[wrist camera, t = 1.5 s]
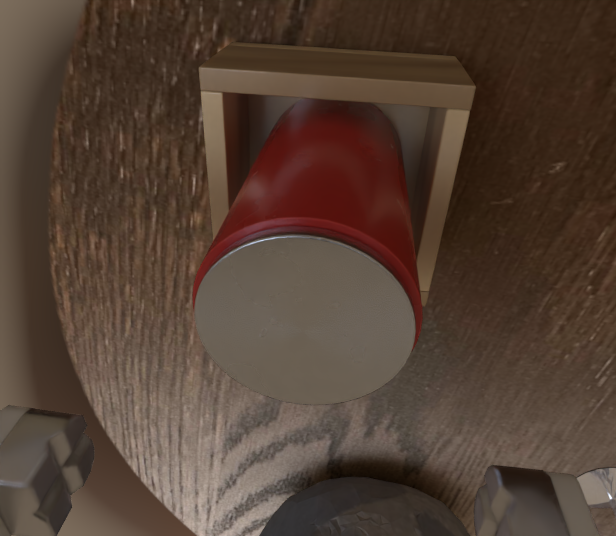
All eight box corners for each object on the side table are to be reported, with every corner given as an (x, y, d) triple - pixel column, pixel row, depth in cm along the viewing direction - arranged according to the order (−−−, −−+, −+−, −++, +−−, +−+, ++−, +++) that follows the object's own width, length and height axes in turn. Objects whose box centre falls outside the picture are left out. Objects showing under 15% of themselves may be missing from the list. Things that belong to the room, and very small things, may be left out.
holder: (231, 41, 20) (197, 66, 16) (456, 55, 20) (476, 86, 16) (240, 232, 26) (216, 286, 22) (417, 248, 25) (425, 307, 21)
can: (265, 86, 20) (172, 215, 11) (413, 97, 20) (447, 241, 11) (266, 216, 24) (197, 397, 15) (392, 227, 24) (404, 421, 14)
